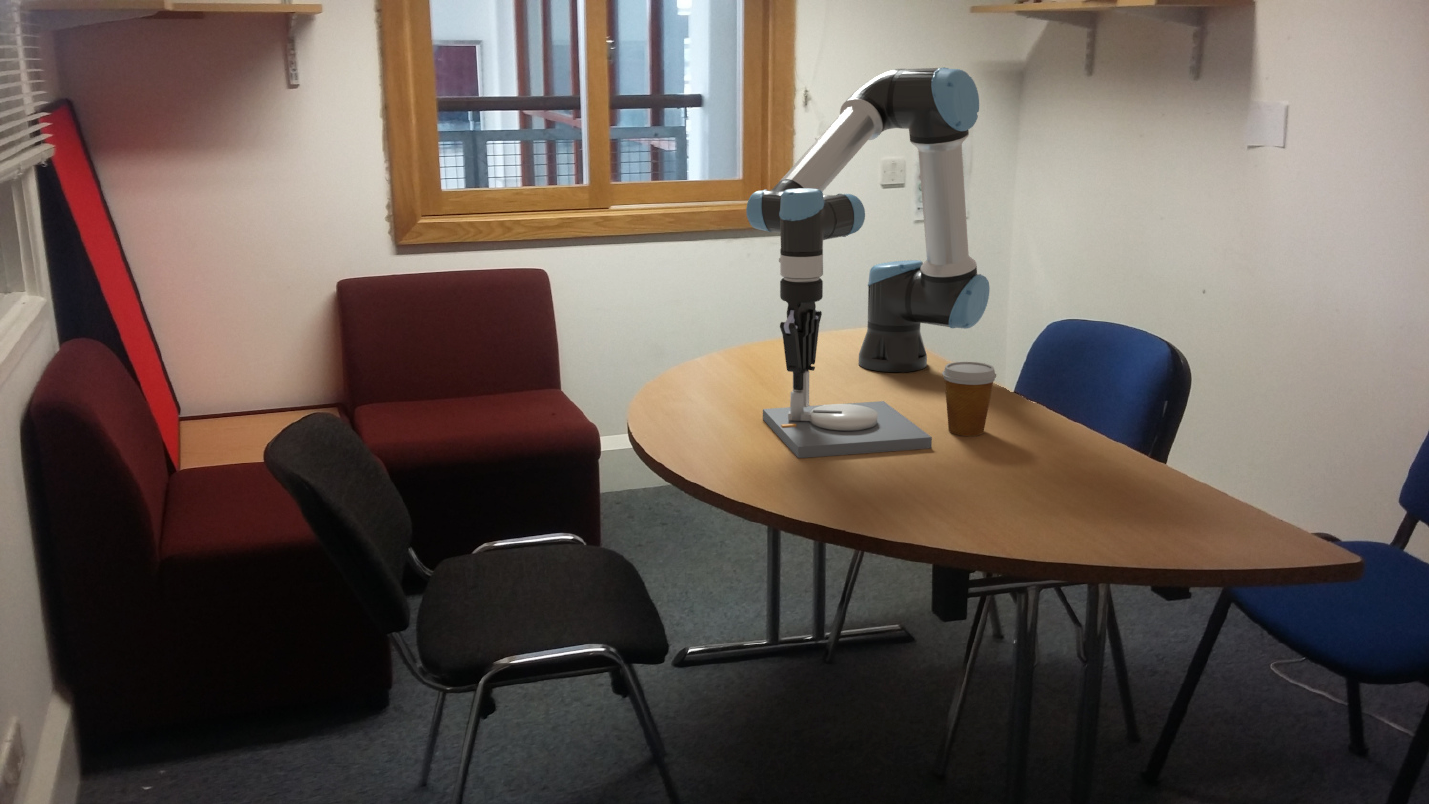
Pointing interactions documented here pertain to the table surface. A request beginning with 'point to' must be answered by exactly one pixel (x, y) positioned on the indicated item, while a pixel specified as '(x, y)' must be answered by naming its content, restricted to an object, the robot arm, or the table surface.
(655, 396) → the table surface
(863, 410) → the dial
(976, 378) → the disposable coffee cup
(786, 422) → the panel
